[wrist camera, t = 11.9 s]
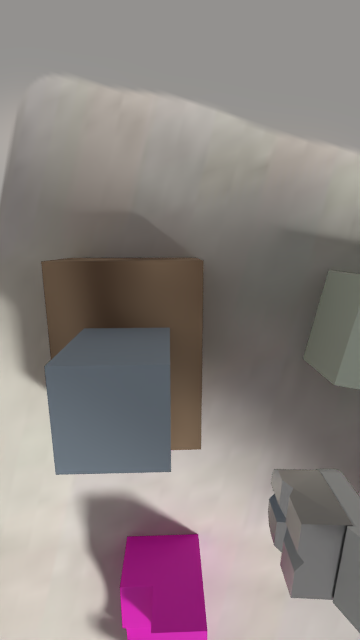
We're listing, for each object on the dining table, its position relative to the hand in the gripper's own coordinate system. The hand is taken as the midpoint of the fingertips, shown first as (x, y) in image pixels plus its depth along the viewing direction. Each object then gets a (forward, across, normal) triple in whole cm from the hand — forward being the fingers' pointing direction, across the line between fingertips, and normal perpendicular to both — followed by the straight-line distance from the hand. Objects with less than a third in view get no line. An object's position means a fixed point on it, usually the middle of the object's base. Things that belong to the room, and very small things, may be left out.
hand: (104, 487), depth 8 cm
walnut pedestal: (+16, +1, +1) cm, 17 cm away
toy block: (+17, -1, +27) cm, 32 cm away
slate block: (+11, +1, +2) cm, 12 cm away
